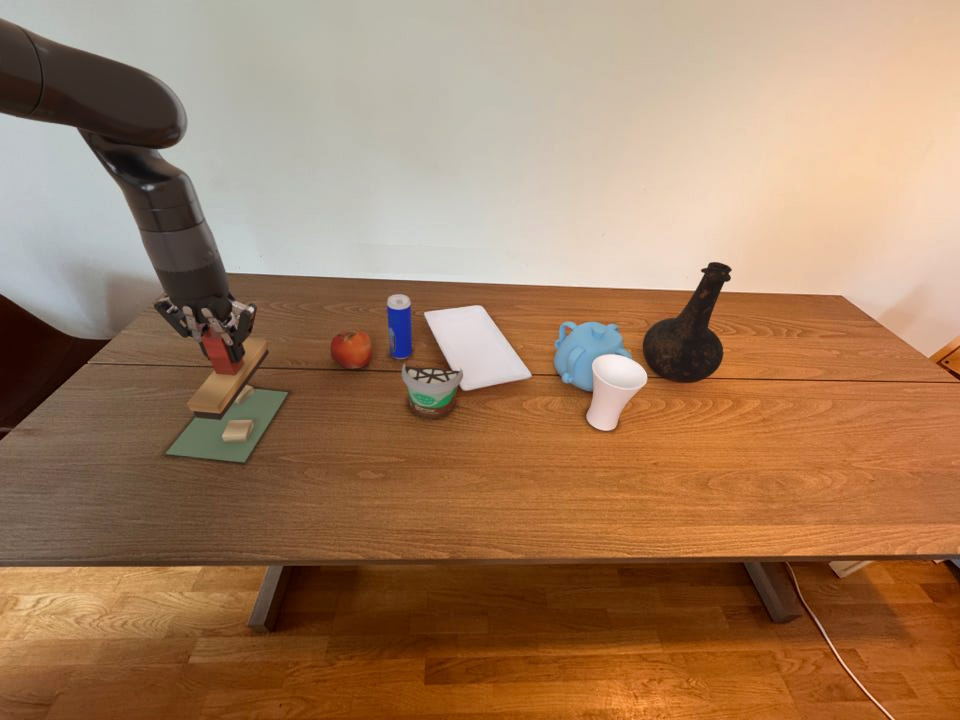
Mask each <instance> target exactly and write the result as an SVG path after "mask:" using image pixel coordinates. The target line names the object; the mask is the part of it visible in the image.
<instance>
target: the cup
mask: <svg viewBox="0 0 960 720" xmlns="http://www.w3.org/2000/svg"><path fill="white" fill-rule="evenodd" d="M592 370H593V385H594V389H593V391H592V398H591V401H590V406H589V408H588V410H587V413H586V420H587V423H589V425H591V426H592V427H594V428H595V429H597V430H600V431H605V432H606V431H608V432H609V431H613V430H614V429H615V428H616V427H617V426H618V422H619V419H620V416H621V414H622V411H624V409H625V407H626V406H627V404H628V403H629V401H630V400H631V399H632V398H633V397H634V396H635V395H636V394H637V393H638V392H639V391H640V390H641V389H642V388H643V387H644V386H645V385H646V384H647V382H648V374H647V372H646V370H645V368H644V367H643V366H642V365H641V364H639V363H638V362H637V361H636V360H634V359H633V360H632V359H630V358H627V357H624V356H621V355H615V354H607V355H602V356H599V357H597V358H596V359H595V360H594V361H593V364H592Z"/></svg>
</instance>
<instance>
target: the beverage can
mask: <svg viewBox="0 0 960 720" xmlns="http://www.w3.org/2000/svg"><path fill="white" fill-rule="evenodd" d="M386 312H387V313H386V314H387V324H388V340H389V353H390V355H391V356H392V357H393V358H394V359H397V360H405V359H408V358H409V357H410V356H411V355H412V353H413V338H412V336H413V335H412V333H413V332H412V330H413V329H412V301H411V299H410V297H409V296H407V295H405V294H401V293H397V294H392V295H390V296H388V298H387V301H386Z"/></svg>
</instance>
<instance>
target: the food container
mask: <svg viewBox="0 0 960 720" xmlns="http://www.w3.org/2000/svg"><path fill="white" fill-rule="evenodd" d="M401 378H402V381H403V382H404V384H405V385H406V388H407V394H408V400H409V404H410V408H411V410H412V411H413V412H414V413H415V414H416V415H418V416H420V417H422V418H424V419H438V418H443V417H444V416H446V415H448V414H449V413H450V412H451V411H452V410H453V408H454V406H455V402H456V397H457V393H458V387H459V386H460V385H459V384H460V382H461V381H462V379H463V371H462V370H461V369H460V371H452V370H451V369H450V370H449V369H443V368H440V367H439V368H438V367H432V366H431V367H417V366H416V367H414V366H406V363H405V362H404V363H403V365H402V368H401Z"/></svg>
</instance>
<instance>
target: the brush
mask: <svg viewBox="0 0 960 720" xmlns="http://www.w3.org/2000/svg"><path fill="white" fill-rule="evenodd" d="M229 332H230V331H229ZM230 333H231V332H230ZM201 340H202V342H203V344H204V347H205V349H206V351H207V354H208V356H209V358H210V361H209V362H210V363H211V365H212V368H213V371H212V372H211V374H210V375H209V376H208V377H207V378H206V380H205V381H204V382H203V383H202V384H201V386H200V387H199V388H198V389H197V390H196V391H195V393H194V394H193V395H192V396H191V398H190V399H189V400H188V401H187V402H186V405H187V407H188V409H189V411H191V412H193V414H194V415H195V417H197V418H204V419H214V420H221V419H222V418H223V416H224V415H225V414H226V412H227V411H228V409H229V408H230V407H231V405H232V404H233V403H234V401H235V400H236V398H237V397H238V396H239V394H240V393H241V391H242V390H243V389H244V387H245V386H246V385H248V383H249V382H250V380H251V379H252V378H253V376H254V374H255V373H256V372H257V370H259V368H260V367H261V365H262V364H263V362H264V360H265V359H266V358H267V356H268V355H269V354H270V351H269V347H270V344H269V342H268V339H264V338H263V339H262V338H252V337H247V339H246V340H245V341H244V342H243V343H242V344H243V347H244V350H245V355H244V357H243V358H242V359H241V360H240V362H239V363H232V361H231V358H230V356H229V353H228V351H227V348H226V346H225V345H226V343H225V342H224V340H223V338H222V337H221V335H220V334H219V333H216V332H215V330H214V329H213V327H212V326H210V329H209V330H208V331H207V332H206V333H205V334H204V335H203V336H202V337H201Z"/></svg>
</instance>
